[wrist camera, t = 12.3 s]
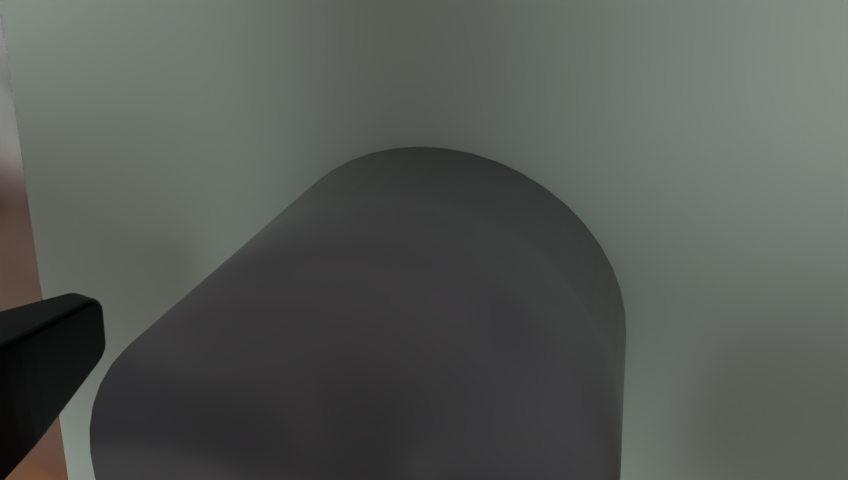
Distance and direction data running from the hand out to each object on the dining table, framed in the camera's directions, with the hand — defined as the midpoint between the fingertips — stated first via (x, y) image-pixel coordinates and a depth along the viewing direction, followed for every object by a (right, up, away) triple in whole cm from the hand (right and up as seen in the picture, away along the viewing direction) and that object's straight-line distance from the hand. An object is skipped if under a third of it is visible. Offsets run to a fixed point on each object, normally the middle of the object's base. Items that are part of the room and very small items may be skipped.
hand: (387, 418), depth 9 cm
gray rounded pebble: (+1, +1, +2) cm, 2 cm away
